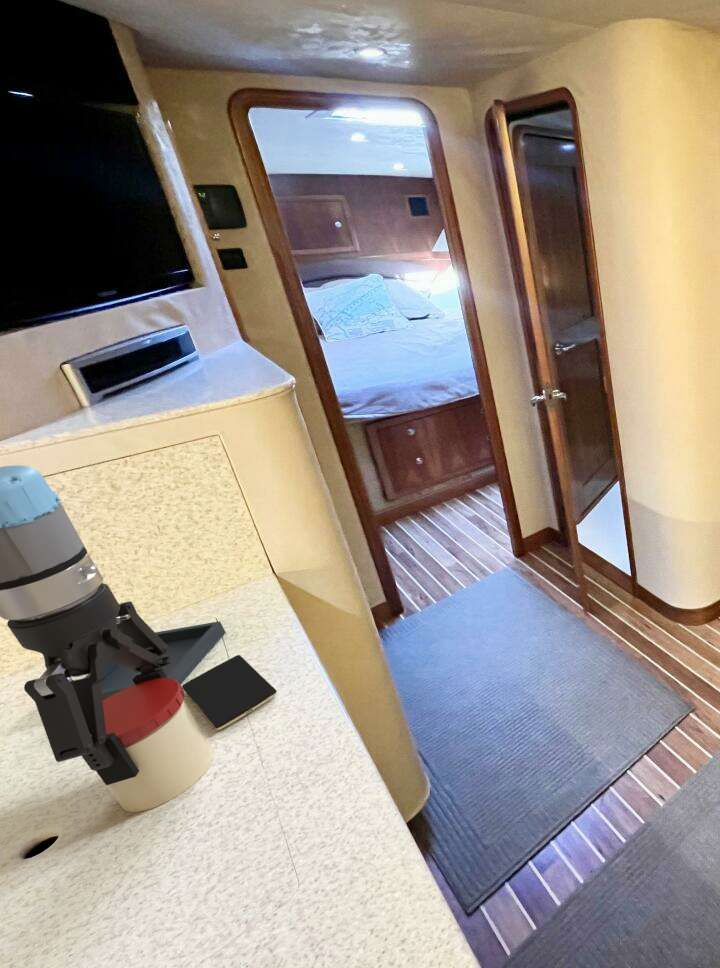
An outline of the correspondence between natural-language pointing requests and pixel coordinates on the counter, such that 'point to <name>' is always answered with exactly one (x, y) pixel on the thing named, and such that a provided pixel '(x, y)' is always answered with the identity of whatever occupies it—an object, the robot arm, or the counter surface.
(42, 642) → the robot arm
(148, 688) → the lid
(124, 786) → the jar
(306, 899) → the counter surface
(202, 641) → the tray
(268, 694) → the smartphone
